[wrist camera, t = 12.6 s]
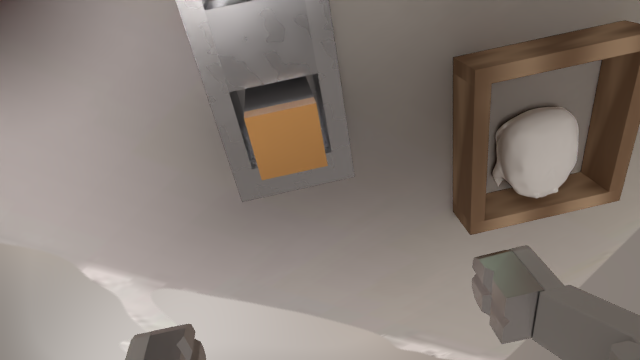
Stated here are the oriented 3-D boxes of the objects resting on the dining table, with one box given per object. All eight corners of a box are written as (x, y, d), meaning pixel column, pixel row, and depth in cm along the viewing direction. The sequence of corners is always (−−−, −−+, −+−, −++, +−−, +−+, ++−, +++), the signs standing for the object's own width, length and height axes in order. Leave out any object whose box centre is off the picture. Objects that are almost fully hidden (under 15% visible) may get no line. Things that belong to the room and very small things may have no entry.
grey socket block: (289, -177, 22) (298, -203, 18) (341, 145, 33) (354, 176, 29) (145, -149, 22) (119, -169, 18) (243, 167, 33) (242, 201, 28)
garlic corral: (624, 20, 31) (664, 29, 28) (590, 180, 38) (619, 200, 36) (453, 57, 31) (475, 70, 28) (453, 211, 38) (470, 234, 35)
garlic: (560, 172, 38) (589, 194, 35) (489, 193, 38) (512, 217, 35) (566, 92, 34) (599, 108, 30) (487, 115, 34) (512, 134, 30)
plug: (302, 68, 28) (316, 102, 22) (312, 121, 30) (327, 165, 24) (245, 80, 28) (243, 118, 22) (259, 132, 30) (261, 180, 24)
